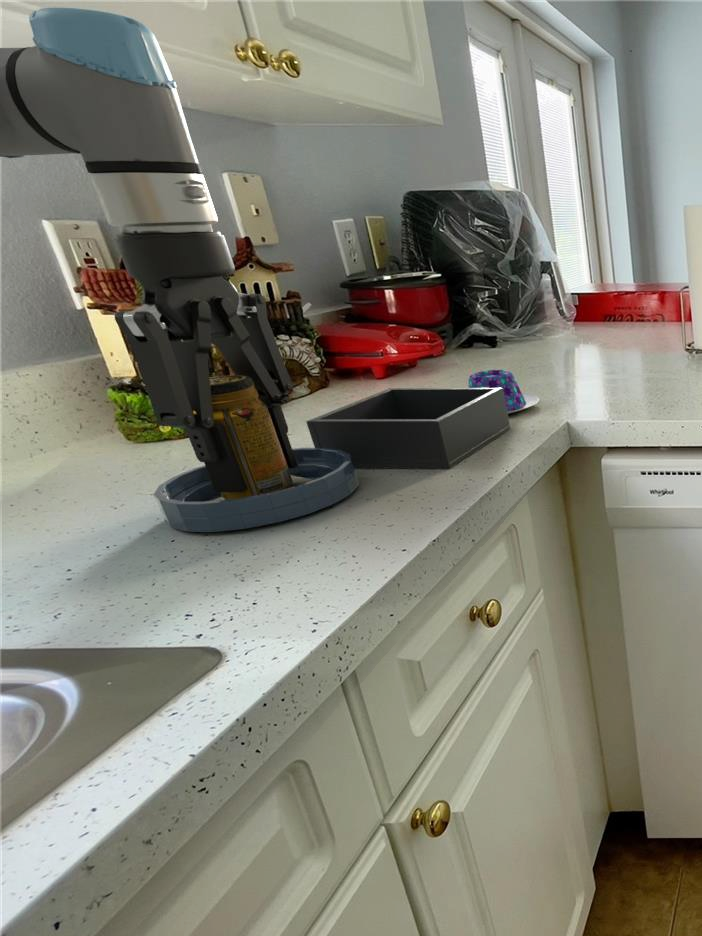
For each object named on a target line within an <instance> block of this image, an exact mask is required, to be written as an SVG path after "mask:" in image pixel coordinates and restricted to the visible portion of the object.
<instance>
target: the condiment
mask: <svg viewBox="0 0 702 936" xmlns="http://www.w3.org/2000/svg"><path fill="white" fill-rule="evenodd" d="M210 388H211V398H212V408H213V418H214V424H224V426H225V429H226V432H227V435H228V437H229V440H230V443H231V445H232V448H233V451H234V453H235V456H236V459H237V461H238V464H239V467H240V470H241V472H242V475H243V478H244V480H245V483H246V486H247V488H248V490H246V491H243V492H220V493H221V496H222V497H219V498H217V499H214V500H210V501H220V500H231V499H239V498H245V497H250V496H256V495H262V494H267V493H272V492H275V491H279V490H283V489H287V488H291V487H295V486H298V485H301V484H304V483H307V482H310V481H312V479H305V478H303V477H296V476H293V475H290V472H289V469H288V466H287V463H286V460H285V457H284V455H283V452H282V449H281V446H280V443H279V440H278V437H277V434H276V431H275V428H274V425H273V423H272V420H271V416H270V413H269V411H268V408H267V406H266V405H265V404H264V403H263V402H261V401H260V400H259V399H258V396H259V394H258V392H257V391H256V389H255V388H254V381H253V380H252V379H251V378H250V377H248V376H243V375H235V374H234V375H233V374H230V375H220V376H212V377H210ZM193 414H196V412H195V411H193ZM210 501H204V502H210Z"/></svg>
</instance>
